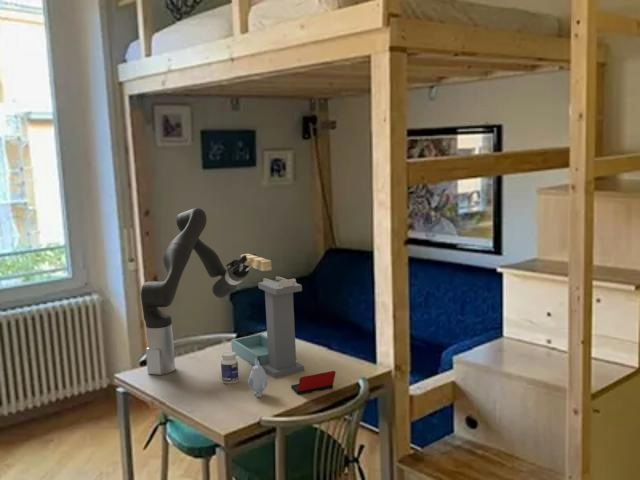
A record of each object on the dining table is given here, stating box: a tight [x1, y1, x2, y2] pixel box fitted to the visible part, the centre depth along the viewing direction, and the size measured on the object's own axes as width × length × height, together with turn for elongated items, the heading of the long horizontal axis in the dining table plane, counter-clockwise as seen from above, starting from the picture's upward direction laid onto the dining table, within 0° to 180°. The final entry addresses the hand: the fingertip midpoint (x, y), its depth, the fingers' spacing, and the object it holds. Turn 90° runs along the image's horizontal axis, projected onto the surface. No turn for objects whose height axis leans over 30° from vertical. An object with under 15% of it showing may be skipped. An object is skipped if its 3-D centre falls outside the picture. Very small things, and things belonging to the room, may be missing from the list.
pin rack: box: [257, 276, 305, 379], centre depth 225 cm, size 14×12×34 cm
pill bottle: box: [220, 351, 239, 385], centre depth 220 cm, size 6×6×10 cm
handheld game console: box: [290, 370, 337, 396], centre depth 209 cm, size 12×11×7 cm
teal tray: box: [230, 333, 269, 367], centre depth 245 cm, size 25×13×5 cm, turn 30°
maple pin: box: [240, 253, 272, 272], centre depth 239 cm, size 20×3×3 cm, turn 30°
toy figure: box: [247, 359, 269, 398], centre depth 206 cm, size 11×6×12 cm, turn 26°
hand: (250, 256), depth 243 cm, fingers closed on maple pin, 3 cm apart
